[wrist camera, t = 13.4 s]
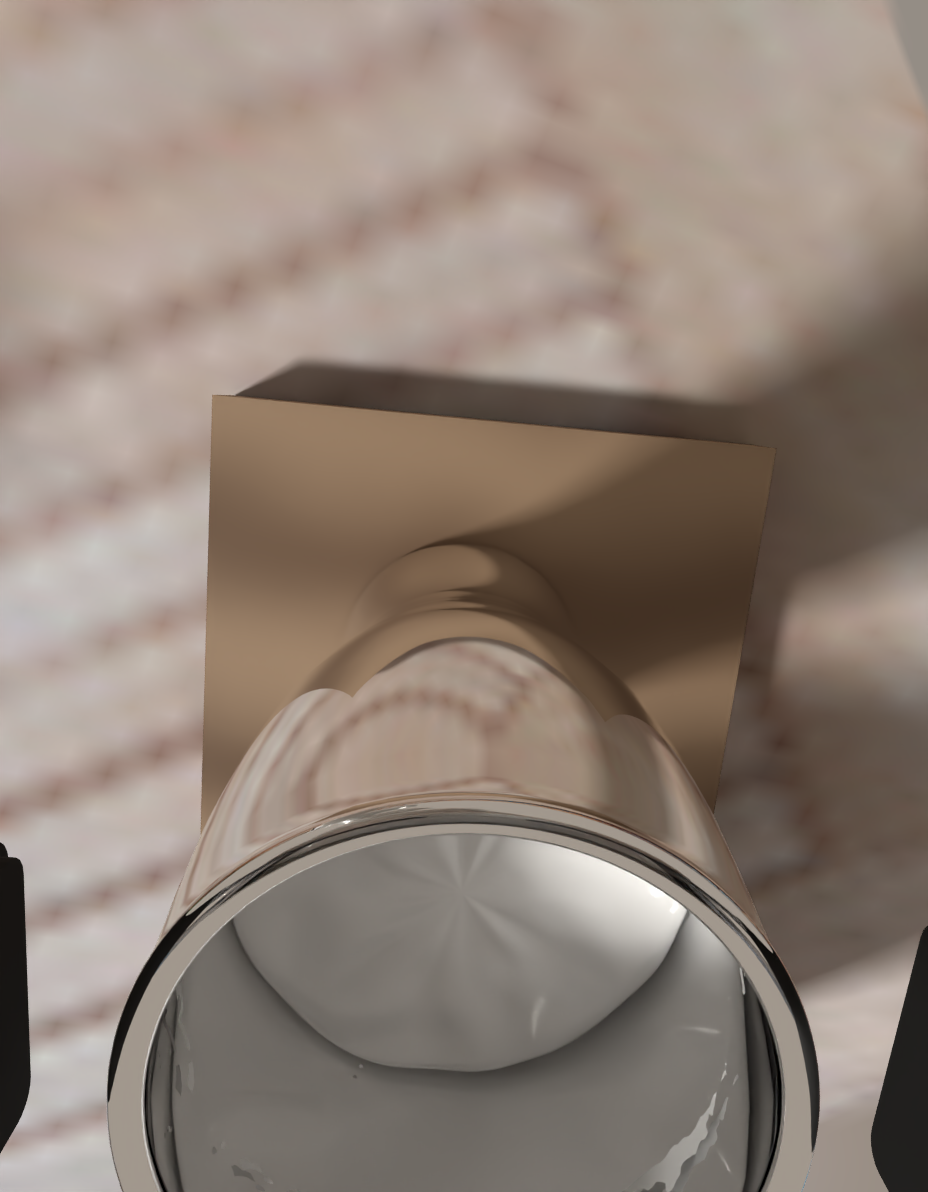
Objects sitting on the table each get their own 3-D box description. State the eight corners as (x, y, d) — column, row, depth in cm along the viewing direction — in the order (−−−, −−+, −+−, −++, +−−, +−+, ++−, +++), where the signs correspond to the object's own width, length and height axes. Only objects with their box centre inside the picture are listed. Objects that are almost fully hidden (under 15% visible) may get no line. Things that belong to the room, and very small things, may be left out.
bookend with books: (233, 395, 23) (-253, 384, 7) (749, 444, 23) (1345, 534, 8) (212, 1035, 27) (-117, 1885, 12) (646, 1068, 28) (890, 1933, 12)
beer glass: (276, 602, 22) (-77, 996, 7) (516, 475, 21) (647, 632, 7) (406, 820, 23) (324, 1515, 9) (635, 708, 23) (958, 1256, 8)
